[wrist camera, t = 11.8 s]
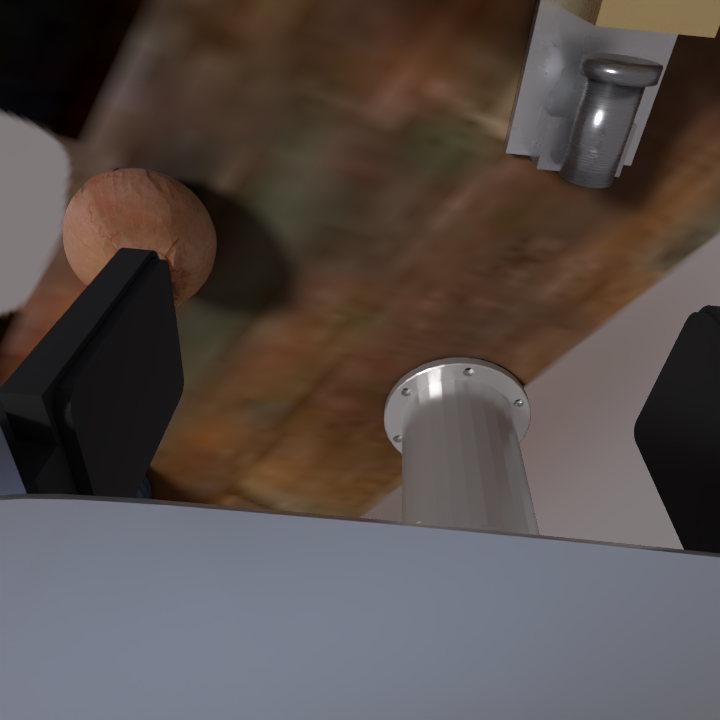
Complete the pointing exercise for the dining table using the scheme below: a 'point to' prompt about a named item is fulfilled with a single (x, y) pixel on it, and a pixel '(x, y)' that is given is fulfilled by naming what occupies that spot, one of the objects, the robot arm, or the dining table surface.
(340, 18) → the dining table surface
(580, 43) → the shaft bench
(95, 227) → the onion
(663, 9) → the tan wooden cube
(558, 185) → the dining table surface
